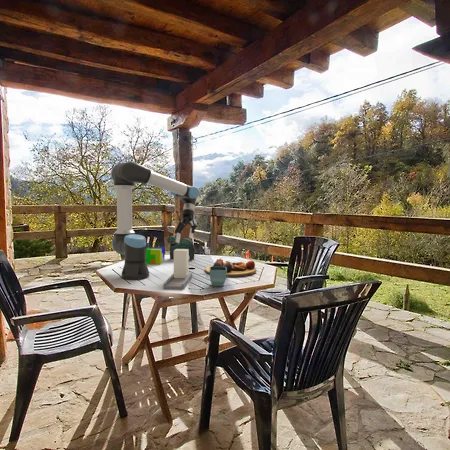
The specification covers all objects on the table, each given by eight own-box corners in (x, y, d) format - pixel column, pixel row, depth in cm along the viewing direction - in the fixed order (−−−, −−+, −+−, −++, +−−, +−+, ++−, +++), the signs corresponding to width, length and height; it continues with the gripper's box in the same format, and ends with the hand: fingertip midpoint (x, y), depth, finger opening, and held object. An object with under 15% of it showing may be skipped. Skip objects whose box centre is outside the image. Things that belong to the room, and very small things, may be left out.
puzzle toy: (164, 261, 224) (164, 247, 223) (160, 264, 214) (160, 249, 213) (150, 261, 225) (150, 247, 224) (145, 263, 215) (145, 249, 214)
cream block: (173, 278, 171) (173, 250, 170) (176, 275, 177) (176, 248, 176) (186, 278, 171) (186, 250, 170) (188, 275, 177) (188, 249, 176)
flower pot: (226, 283, 169) (226, 266, 169) (226, 287, 161) (226, 270, 160) (209, 282, 169) (209, 266, 168) (209, 287, 160) (209, 270, 160)
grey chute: (163, 288, 157) (163, 283, 156) (174, 276, 180) (174, 272, 180) (183, 289, 156) (184, 284, 156) (192, 277, 180) (192, 272, 180)
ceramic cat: (167, 259, 233) (167, 232, 231) (169, 257, 239) (169, 231, 237) (193, 260, 230) (193, 232, 229) (195, 258, 237) (195, 232, 235)
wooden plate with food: (260, 268, 208) (261, 256, 207) (249, 279, 177) (249, 265, 177) (214, 265, 217) (214, 253, 217) (196, 275, 187) (196, 261, 187)
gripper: (205, 208, 207) (201, 238, 198) (181, 218, 223) (176, 246, 214) (197, 203, 202) (192, 233, 193) (172, 213, 218) (167, 242, 209)
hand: (184, 240), depth 204 cm, fingers open, 13 cm apart
